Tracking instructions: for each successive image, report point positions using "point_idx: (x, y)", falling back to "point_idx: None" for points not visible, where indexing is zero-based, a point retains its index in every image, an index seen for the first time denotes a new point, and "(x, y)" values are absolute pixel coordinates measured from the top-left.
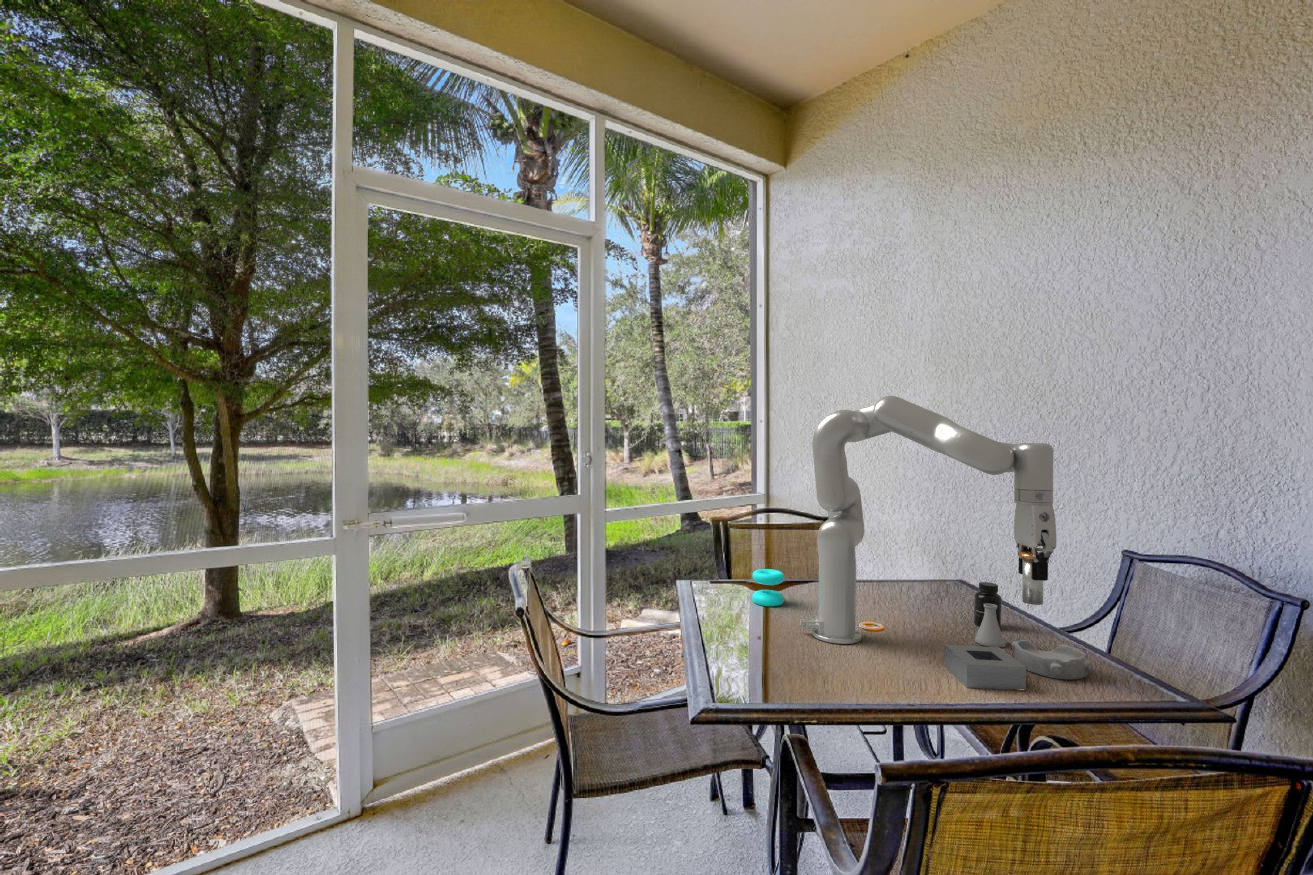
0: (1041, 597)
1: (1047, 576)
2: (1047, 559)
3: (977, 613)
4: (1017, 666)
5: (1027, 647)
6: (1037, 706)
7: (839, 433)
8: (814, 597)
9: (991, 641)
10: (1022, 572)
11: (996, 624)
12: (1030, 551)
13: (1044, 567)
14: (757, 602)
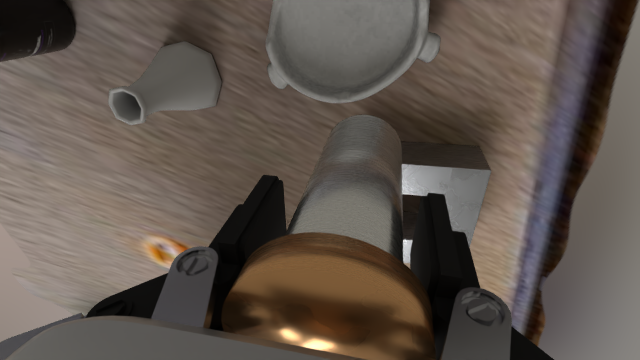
0: (398, 149)
1: (446, 207)
2: (540, 353)
3: (37, 54)
4: (484, 186)
5: (280, 45)
6: (557, 165)
7: None
8: (47, 278)
9: (212, 90)
10: (284, 234)
11: (173, 82)
12: (233, 315)
13: (474, 282)
14: None
